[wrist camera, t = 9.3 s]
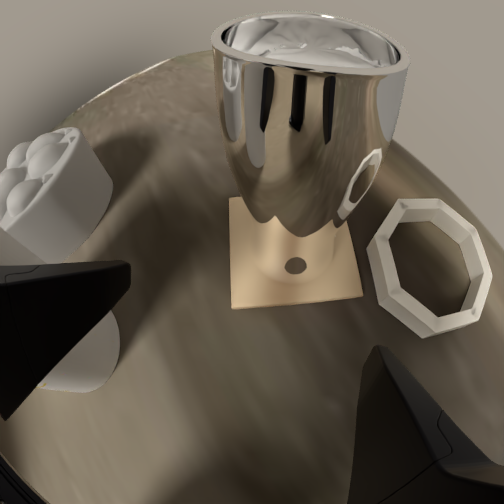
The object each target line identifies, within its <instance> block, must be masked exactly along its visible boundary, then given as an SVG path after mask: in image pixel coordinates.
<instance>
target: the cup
mask: <svg viewBox="0 0 504 504" xmlns="http://www.w3.org/2000/svg"><path fill="white" fill-rule="evenodd" d="M42 264H47V263H46V262H44V261H43V260H41V259H40V258H39V257H37V256H36V255H35V254H33V253H32V252H31V251H30V250H28V249H27V248H26V247H24V246H23V245H22V244H21V243H19V242H18V241H17V240H16V239H14V238H13V237H12V236H11V235H10V234H8V233H7V232H6V231H5V230H4V229H2V228H1V227H0V265H42ZM119 350H120V335H119V329H118V325H117V322H116V319H115V317H114V315H113V313H112V311H111V310H110V312H109V313H108V314H107V315H106V316H105V317H104V318H103V319H102V320H101V321H100V322H99V323H98V324H97V325H96V326H95V327H94V328H93V329H92V330H91V331H90V332H89V333H88V334H87V335H86V336H85V337H84V338H83V339H82V340H81V341H80V342H79V343H78V344H77V345H76V346H75V347H74V348H73V349H72V350H71V351H70V352H69V353H68V354H67V355H66V356H65V357H64V358H63V359H62V360H61V361H60V362H59V363H58V364H57V365H56V366H55V367H54V368H53V369H52V370H51V371H50V373H49V374H48V375H47V376H46V377H45V378H44V379H43V380H42V381H41V382H40V383H39V384H38V386H37V387H36V388H41V389H49V390H58V391H69V392H83V393H84V392H91V391H94V390H96V389H98V388H99V387H101V386H102V385H103V384H104V383H105V382H106V381H107V380H108V379H109V378H110V376H111V375H112V373H113V371H114V369H115V367H116V364H117V361H118V357H119Z"/></svg>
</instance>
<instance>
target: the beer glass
mask: <svg viewBox="0 0 504 504" xmlns="http://www.w3.org/2000/svg"><path fill="white" fill-rule="evenodd" d="M211 43H212V47H213V59H214V76H215V90H216V102H217V111H218V118H219V125H220V132H221V137H222V141H223V145H224V150H225V154H226V158H227V162H228V165H229V167H230V170H231V173H232V176H233V178H234V181H235V184H236V186H237V188H238V190H239V193H240V195H241V197H242V199H243V202H244V204H245V206H246V208H247V210H248V212H249V214H250V217H251V219H252V223H253V228H252V232H251V236H250V254H251V257H252V260H253V262H254V263H255V265H256V266H257V268H258V269H259V270H260V271H261V272H262V273H263V274H264V275H265V276H267V277H268V278H270V279H272V280H274V281H276V282H279V283H283V284H289V285H297V284H304V283H307V282H310V281H312V280H314V279H316V278H317V277H319V276H320V275H321V274H323V273H324V272H325V270H326V269H327V268H328V266H329V265H330V263H331V261H332V258H333V254H334V243H335V237H336V236H335V235H336V233H337V231H338V230H339V229H340V227H341V226H342V225H343V224H344V222H345V221H346V220H347V219H348V218H349V216H350V215H351V214H352V212H353V211H354V210H355V209H356V207H357V206H358V205H359V203H360V202H361V201H362V199H363V198H364V196H365V195H366V193H367V191H368V190H369V188H370V187H371V185H372V184H373V182H374V180H375V178H376V176H377V174H378V172H379V170H380V168H381V166H382V163H383V161H384V159H385V157H386V154H387V151H388V148H389V145H390V142H391V139H392V136H393V133H394V130H395V126H396V123H397V118H398V114H399V110H400V106H401V101H402V96H403V91H404V86H405V81H406V76H407V71H408V67H409V65H410V56H409V54H408V52H407V51H406V50H405V48H404V47H403V46H402V45H401V44H399V43H398V42H397V41H395V40H394V39H393V38H391V37H390V36H388V35H386V34H385V33H383V32H381V31H379V30H377V29H374V28H373V27H370V26H368V25H365V24H363V23H360V22H357V21H354V20H350V19H347V18H342V17H338V16H334V15H329V14H323V13H315V12H305V11H274V12H264V13H257V14H252V15H247V16H243V17H240V18H236V19H234V20H231V21H229V22H227V23H225V24H223V25H221V26H220V27H218V28H217V29H216V30H215V31H214V32H213V34H212V36H211Z"/></svg>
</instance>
